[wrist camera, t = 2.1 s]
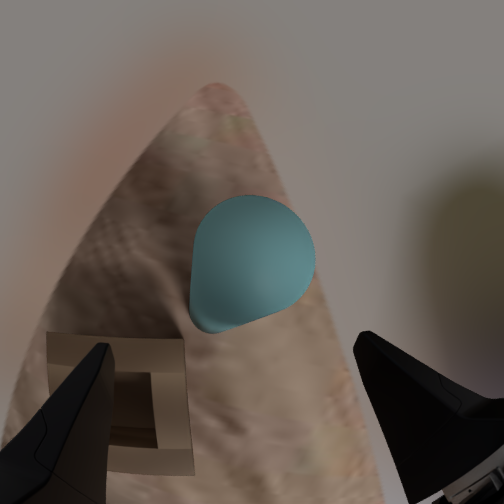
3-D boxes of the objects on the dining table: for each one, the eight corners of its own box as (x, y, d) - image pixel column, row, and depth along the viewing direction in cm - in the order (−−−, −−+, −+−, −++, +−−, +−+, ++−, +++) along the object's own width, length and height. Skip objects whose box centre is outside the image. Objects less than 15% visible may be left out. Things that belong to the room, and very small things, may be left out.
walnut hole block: (192, 449, 16) (195, 475, 12) (84, 441, 14) (61, 462, 10) (184, 339, 18) (183, 338, 14) (74, 335, 16) (46, 331, 12)
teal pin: (236, 332, 19) (321, 311, 7) (189, 333, 18) (194, 316, 6) (234, 287, 20) (307, 198, 8) (188, 287, 19) (194, 192, 7)
